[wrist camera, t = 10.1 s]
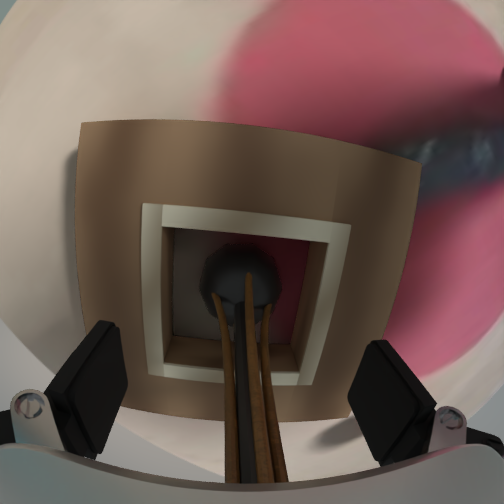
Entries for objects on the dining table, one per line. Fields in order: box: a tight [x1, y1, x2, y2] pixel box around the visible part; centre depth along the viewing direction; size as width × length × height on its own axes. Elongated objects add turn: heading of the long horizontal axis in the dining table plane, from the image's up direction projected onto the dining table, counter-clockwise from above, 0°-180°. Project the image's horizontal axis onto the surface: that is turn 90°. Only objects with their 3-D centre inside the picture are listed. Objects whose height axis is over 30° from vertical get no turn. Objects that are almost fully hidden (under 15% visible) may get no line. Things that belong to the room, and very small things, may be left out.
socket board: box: [75, 119, 422, 422], centre depth 15 cm, size 18×18×3 cm
